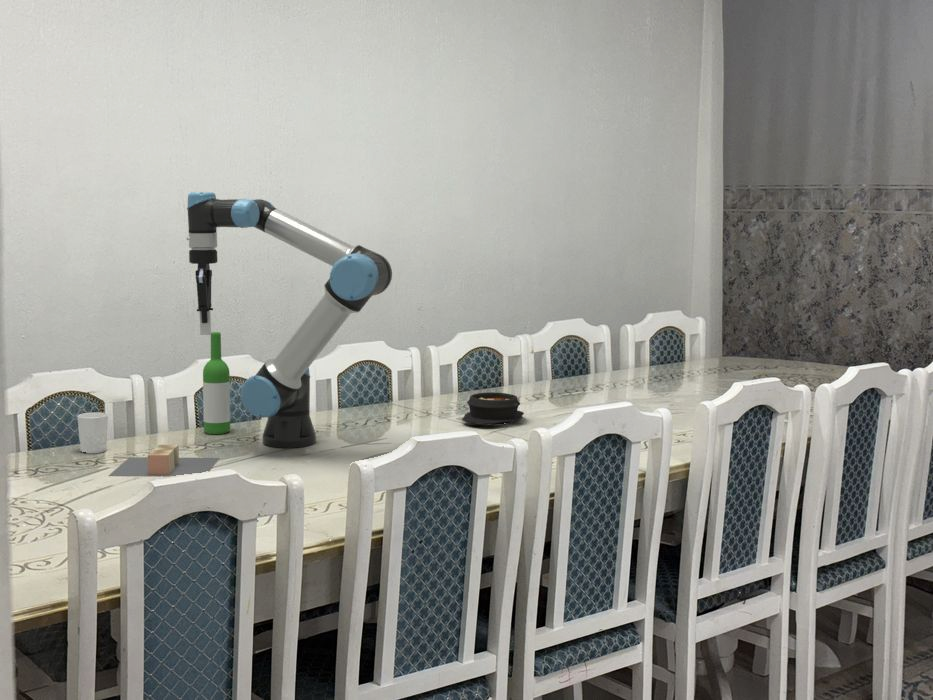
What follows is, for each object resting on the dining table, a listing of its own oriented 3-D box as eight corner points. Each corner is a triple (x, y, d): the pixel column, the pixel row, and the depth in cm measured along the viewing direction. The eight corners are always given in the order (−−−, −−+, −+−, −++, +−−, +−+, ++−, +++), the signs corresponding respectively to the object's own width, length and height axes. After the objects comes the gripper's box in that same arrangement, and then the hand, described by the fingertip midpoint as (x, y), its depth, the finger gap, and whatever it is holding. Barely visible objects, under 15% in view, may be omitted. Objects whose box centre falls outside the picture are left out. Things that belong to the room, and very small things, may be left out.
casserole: (499, 432, 331) (499, 405, 330) (447, 425, 340) (448, 398, 339) (537, 419, 352) (537, 393, 351) (487, 412, 361) (488, 387, 360)
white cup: (74, 450, 298) (73, 414, 297) (102, 446, 303) (101, 411, 302) (84, 455, 292) (83, 419, 291) (113, 451, 297) (112, 415, 296)
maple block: (178, 444, 283) (167, 455, 271) (178, 463, 283) (168, 474, 271) (159, 444, 282) (147, 455, 270) (159, 463, 283) (148, 474, 271)
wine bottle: (211, 436, 318) (209, 334, 314) (199, 431, 324) (197, 332, 320) (235, 433, 323) (233, 333, 319) (222, 428, 329) (221, 330, 325)
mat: (220, 459, 290) (220, 457, 290) (205, 478, 270) (205, 476, 270) (129, 458, 289) (129, 457, 289) (108, 477, 269) (108, 476, 269)
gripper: (193, 248, 303) (195, 331, 306) (185, 249, 290) (187, 337, 293) (220, 248, 303) (222, 331, 306) (213, 249, 290) (216, 337, 293)
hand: (205, 334), depth 299 cm, fingers closed
